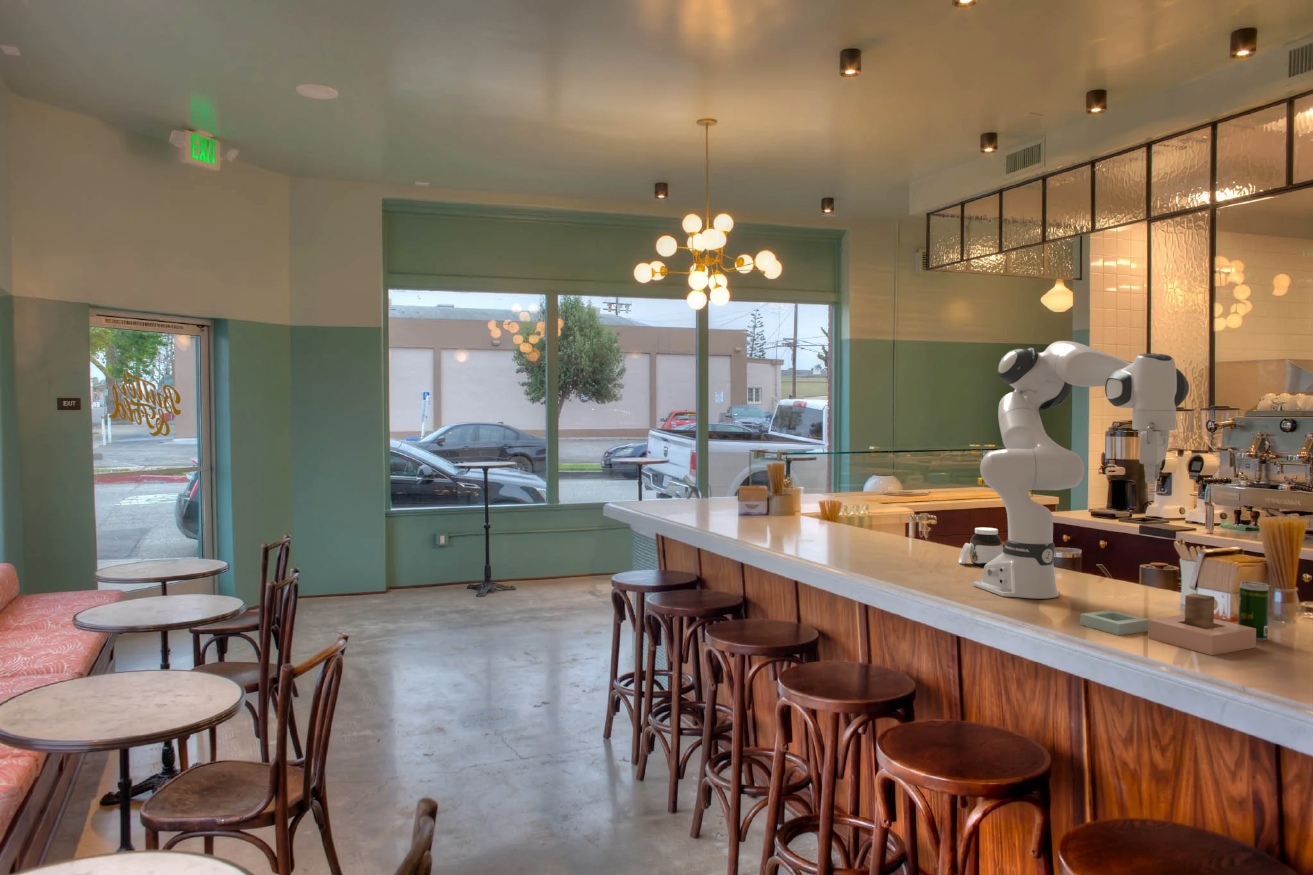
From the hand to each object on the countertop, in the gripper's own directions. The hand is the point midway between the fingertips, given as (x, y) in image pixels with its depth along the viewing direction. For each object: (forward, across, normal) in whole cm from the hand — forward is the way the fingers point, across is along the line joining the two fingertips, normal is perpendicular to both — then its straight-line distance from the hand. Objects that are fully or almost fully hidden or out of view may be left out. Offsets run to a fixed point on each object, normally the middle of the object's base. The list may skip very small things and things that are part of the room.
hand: (1152, 481), depth 202 cm
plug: (+33, -16, -11) cm, 38 cm away
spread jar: (+34, +48, +52) cm, 78 cm away
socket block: (+33, -16, -12) cm, 38 cm away
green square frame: (+33, -13, +5) cm, 36 cm away
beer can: (+33, -5, -20) cm, 39 cm away
